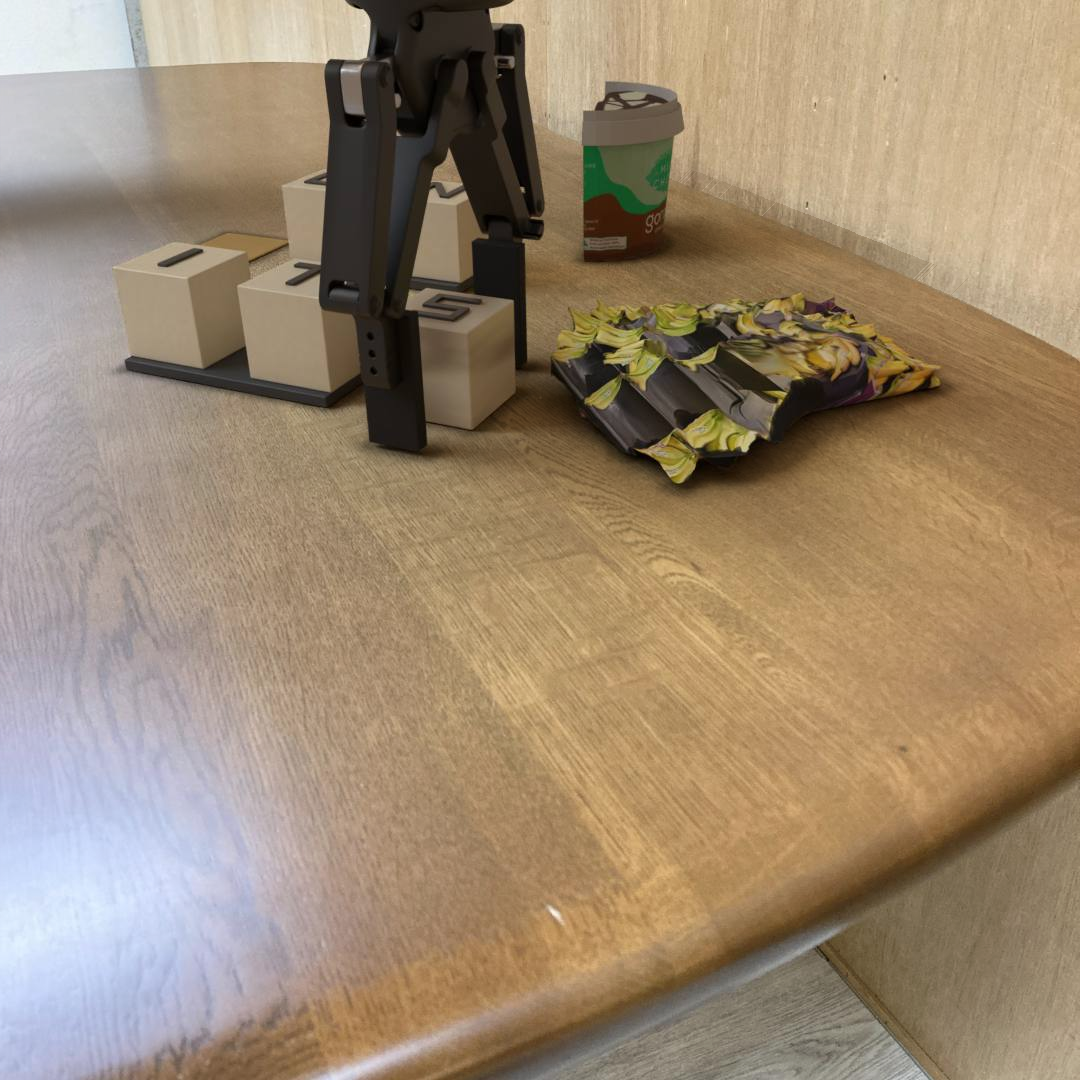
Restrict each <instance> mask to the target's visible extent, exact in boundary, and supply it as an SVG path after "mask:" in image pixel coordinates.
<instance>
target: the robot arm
mask: <svg viewBox="0 0 1080 1080" xmlns="http://www.w3.org/2000/svg"><path fill="white" fill-rule="evenodd" d="M344 1H345V2H346V3H347V4H348V5H349V6H350V7H351V8H354V9H357V10H363V11H364V12H365V14H366V15H367V16H368V18H369V21H370V22H369V24H370V26H369V41H368V42H369V43H368V47H367V53H366V57H364V58H361V59H341V58H330V59H328V61H327V62H326V64H325V66H324V72H323V73H324V74H323V75H324V77H323V78H324V86H325V93H326V100H327V102H326V103H327V109H328V111H327V112H328V118H329V129H328V130H329V131H328V146H327V160H326V161H327V163H326V169H327V174H326V190H325V206H324V221H323V237H322V252H321V268H320V283H319V304H320V307H321V308H322V309H323V310H325V311H330V312H336V313H343V314H350V315H352V316H353V318H354V320H355V324H356V332H357V342H358V352H359V355H360V356H359V362H360V372H361V378H362V380H363V383H362V384H363V393H364V402H365V411H366V422H367V433H368V442H369V443H374V444H378V445H383V446H389V447H393V448H398V449H404V450H409V451H415V452H419V453H420V452H421V451H422V450H424V449H425V448H426V447H427V446H428V433H427V422H426V417H425V403H424V389H423V375H422V361H421V346H420V332H419V318H418V311H412V310H405V309H406V304H407V299H409V293H410V289H411V288H410V284H411V279H412V274H413V269H414V264H415V259H416V255H417V250H418V245H419V240H420V235H421V230H422V225H423V220H424V215H425V210H426V205H427V200H428V196H429V191H430V186H431V181H432V180H433V175H434V171H435V169H436V168H438V167H439V166H441V165H442V164H444V162H445V161H446V160H447V157H448V154H449V153H448V152H449V151H450V154H451V157H452V159H453V162H454V164H455V168H456V170H457V172H458V175H459V178H460V180H461V183H463V186H464V189H465V191H466V194H467V196H468V199H469V202H470V204H471V207H472V210H473V212H474V215H475V218H476V220H477V223H478V226H479V228H480V231H481V233H482V234H485V235H488V239H485V238H477V239H475V240H473V241H472V263H473V285H472V286H473V295H480V296H487V297H494V298H501V299H508V300H513V301H514V338H515V367H516V366H517V367H523V366H524V365H525V364H526V363H528V327H527V325H528V324H527V323H528V321H527V282H526V281H527V279H526V278H527V277H526V243H525V242H524V240H532V241H541V239H542V238H543V236H544V232H545V221H544V219H539V218H541V217H542V216H543V214H544V212H545V209H546V206H545V205H546V204H545V195H544V193H545V192H544V186H543V182H542V173H541V167H540V162H539V161H540V160H539V155H538V148H537V142H536V136H535V129H534V122H533V115H532V109H531V102H530V97H529V90H528V89H529V88H528V83H527V77H526V31H525V27H524V25H523V24H521V23H510V22H508V23H507V22H492V18H491V13H490V12H491V11H490V9H497V8H501V7H505V6H507V5H510V4H511V3H513V2H514V1H515V0H344ZM398 134H399V135H398ZM522 188H523V190H522ZM345 281H346V284H345ZM385 281H386V285H385Z"/></svg>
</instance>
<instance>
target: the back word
mask: <svg viewBox="0 0 1080 1080" xmlns="http://www.w3.org/2000/svg"><path fill="white" fill-rule="evenodd" d="M326 174H327V168H323V169H320V170H317V171H315V172H313V173H310V174H307V175H305V176H302V177H300V178H297V179H295V180H292V181H290V182H287V183H284V184H282V185H281V192H282V193H281V194H282V199H283V207H284V215H285V223H286V224H285V225H286V231H287V232H286V233H287V239H280V238H272V237H264V236H256V235H248V234H241V233H234V232H227V233H224V234H222V235H220V236H217V237H215V238H212V239H209V240H207V241H205V242H202V243H201V244H199V245H201V246H208V247H215V248H223V249H230V250H237V251H244V252H247V254H248V261H249V262H251V261H253V260H256V259H258V258H260V257H262V256H264V255H266V254H269V253H271V252H273V251H276V250H277V249H279V248H282V247H284V246H286V245H288V250H289V256H290V260H292V259H294V258H296V259H303V260H310V261H317V262H321V252H322V237H323V221H324V206H325V190H326ZM477 238H485V239H488V235H485V234H482V233H481V231H480V228H479V226H478V223H477V220H476V218H475V215H474V212H473V210H472V207H471V204H470V202H469V199H468V196H467V194H466V191H465V189H464V186H463V183H462V182H455V181H444V180H435V179H432V181H431V186H430V191H429V196H428V200H427V205H426V210H425V215H424V220H423V225H422V230H421V235H420V240H419V245H418V250H417V255H416V259H415V264H414V269H413V274H412V279H411V284H410V289H412V290H413V289H414V290H419V291H420V290H421V291H422V290H424V289H425V288H431V289H438V290H445V291H452V292H459V293H464V291H466V290H467V289H469V288H471V287H472V286H474V285H473V263H472V241H473V240H475V239H477ZM385 286H386V281H385Z"/></svg>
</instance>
